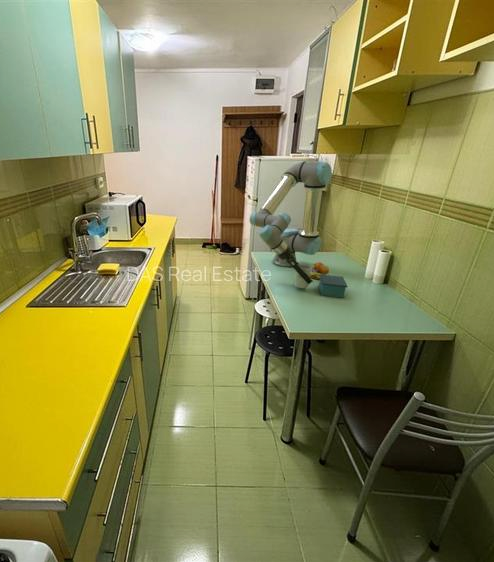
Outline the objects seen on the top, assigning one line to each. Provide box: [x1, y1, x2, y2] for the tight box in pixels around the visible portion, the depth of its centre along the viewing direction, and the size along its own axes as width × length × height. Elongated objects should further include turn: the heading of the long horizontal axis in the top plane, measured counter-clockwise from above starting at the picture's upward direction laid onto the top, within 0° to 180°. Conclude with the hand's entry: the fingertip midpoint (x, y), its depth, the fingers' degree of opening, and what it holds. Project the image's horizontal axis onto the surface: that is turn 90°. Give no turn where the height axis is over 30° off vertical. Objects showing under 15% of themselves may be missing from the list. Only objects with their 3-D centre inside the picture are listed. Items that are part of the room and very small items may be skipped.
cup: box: [293, 263, 312, 289], centre depth 164 cm, size 7×7×11 cm
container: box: [318, 274, 348, 298], centre depth 163 cm, size 13×12×7 cm
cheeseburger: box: [310, 261, 330, 280], centre depth 182 cm, size 10×11×10 cm
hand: (308, 279), depth 165 cm, fingers closed on cup, 7 cm apart
